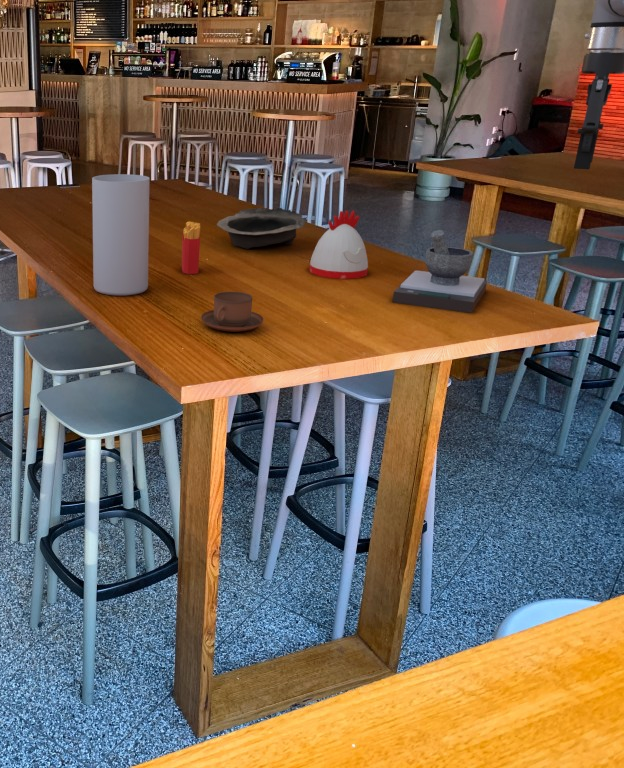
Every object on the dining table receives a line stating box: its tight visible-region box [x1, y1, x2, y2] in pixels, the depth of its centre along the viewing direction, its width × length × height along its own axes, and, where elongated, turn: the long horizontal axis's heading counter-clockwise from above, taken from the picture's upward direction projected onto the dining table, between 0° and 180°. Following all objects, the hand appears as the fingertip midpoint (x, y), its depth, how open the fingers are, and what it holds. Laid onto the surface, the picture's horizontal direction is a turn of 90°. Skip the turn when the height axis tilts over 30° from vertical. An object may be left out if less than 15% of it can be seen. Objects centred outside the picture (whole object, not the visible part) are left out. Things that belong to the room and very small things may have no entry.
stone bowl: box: [216, 207, 308, 250], centre depth 224 cm, size 25×25×9 cm
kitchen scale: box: [392, 270, 488, 314], centre depth 175 cm, size 20×16×3 cm
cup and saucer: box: [200, 291, 264, 333], centre depth 154 cm, size 12×12×6 cm
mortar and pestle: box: [425, 229, 474, 286], centre depth 172 cm, size 11×9×12 cm
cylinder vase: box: [91, 173, 151, 297], centre depth 177 cm, size 12×12×25 cm
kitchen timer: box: [309, 210, 369, 280], centre depth 194 cm, size 14×14×15 cm
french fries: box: [181, 220, 201, 275], centre depth 195 cm, size 8×4×12 cm, turn 2°
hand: (582, 165), depth 160 cm, fingers open, 13 cm apart
